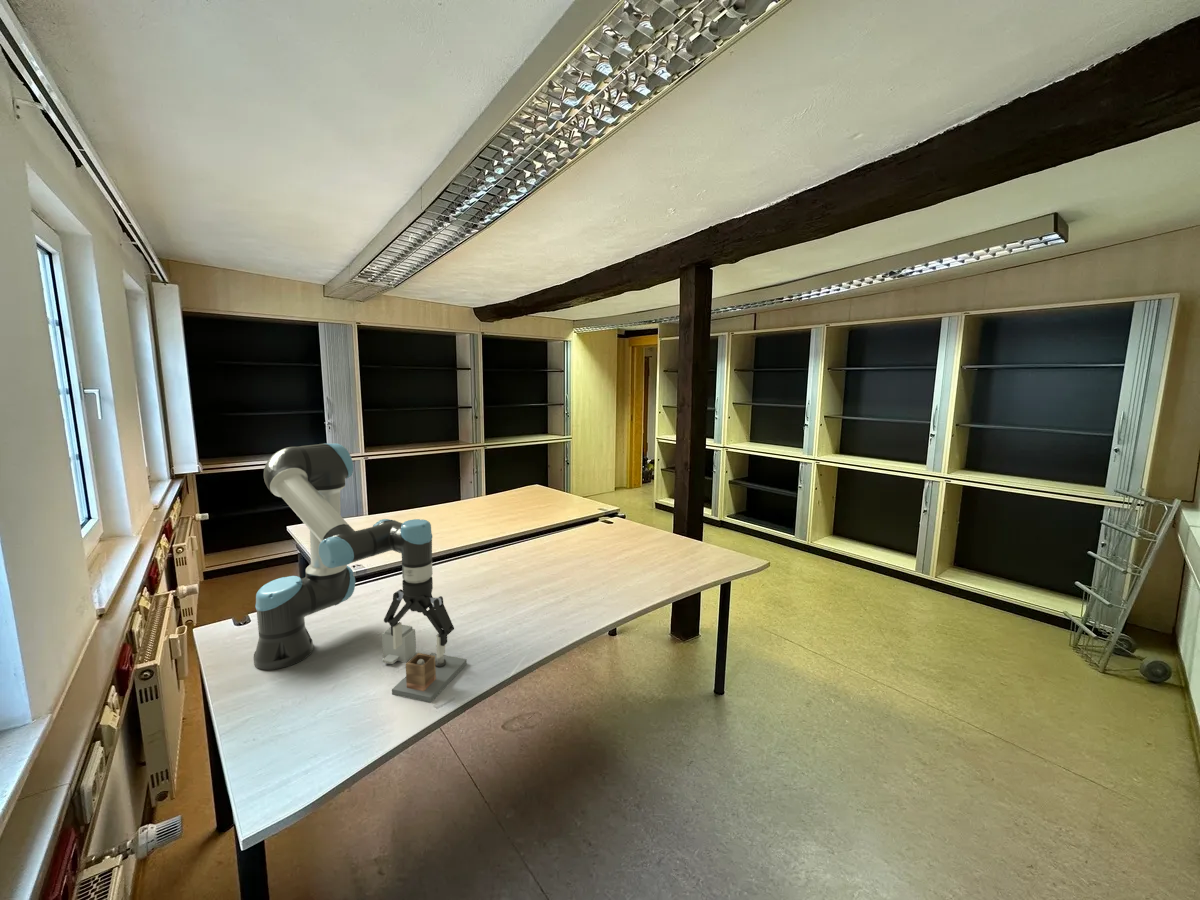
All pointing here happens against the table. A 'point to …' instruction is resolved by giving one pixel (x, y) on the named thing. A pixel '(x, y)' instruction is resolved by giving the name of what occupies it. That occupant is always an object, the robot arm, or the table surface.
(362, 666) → the table surface
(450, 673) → the pinboard
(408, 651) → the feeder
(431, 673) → the sleeve
